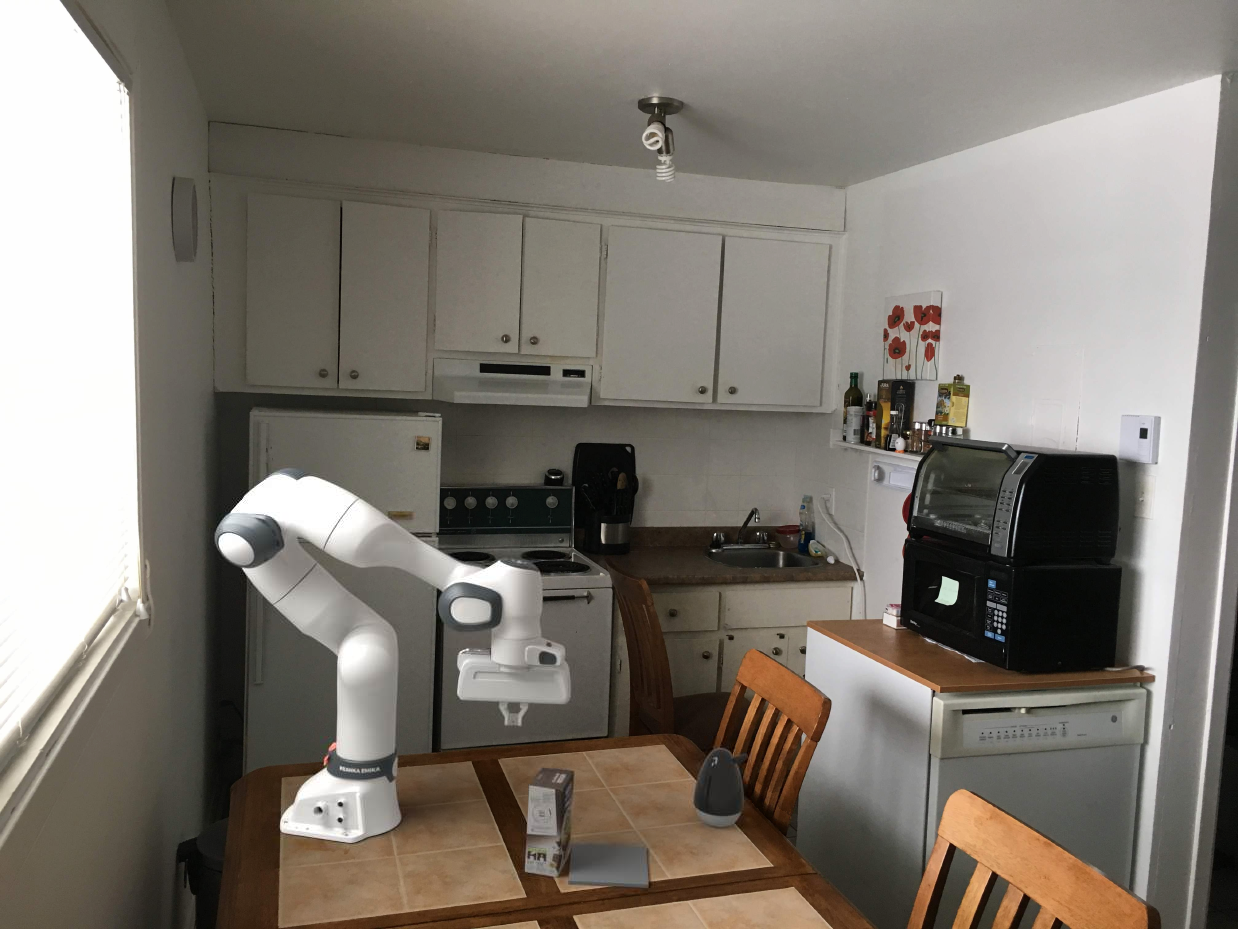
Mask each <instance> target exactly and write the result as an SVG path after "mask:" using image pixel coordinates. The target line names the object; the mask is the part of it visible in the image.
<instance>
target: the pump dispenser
mask: <svg viewBox="0 0 1238 929" xmlns="http://www.w3.org/2000/svg"><path fill="white" fill-rule="evenodd" d="M748 758H749V757H748V754H747V753H743V754H739V755H736V756H735V755H733V754H732V752H731V751H730V750H728V749H726V748H723V747H719V748H714V749H713V750H711V751H710V752H709V754H708V755H707V756H706V758H705V759H704V762H703V763H702V766H701V768H700V770H699V773H698V776H697V778H696V783H695V786H694V792H693V801H692V802H693V804H692V805H693V806H694V809H695V812H696V815H697V816H698V818H699V820H700V821H702V822H703V823H705V825H707V826H710V827H714V828H726V827H727V828H728V827H729V826H732V825H734V824H735V823H736V822H737V821H738V820H739V818H740V816H741V814H742V812H743V811H744V807H745V806H744V805H745V796H744V785H743V780H742V775H741V772H740V768H739V766H738V764H739V763H741V762H743V761H745V760H747V759H748Z"/></svg>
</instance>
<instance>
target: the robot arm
mask: <svg viewBox="0 0 1238 929" xmlns="http://www.w3.org/2000/svg"><path fill="white" fill-rule="evenodd" d="M298 538H302V539H305V540H306V541H308V542H310V543H312V544H313V545H314V546H315V547H317V548H319V549H320V550H322V551H324V552H325V553H327V554H328V555H330V556H331V557H333V558H335V559H337V560H338V561H341V562H343V563H346V564H348V565H351V566H354V567H357V568H361V569H362V568H373V567H390V568H391V567H392V568H397V569H400V570H404V571H406V572H408V573H410V574H411V575H413V576H415V577H417V578H418V579H421V580H422V581H423V582H426V583H428V584H429V585H431V586H433V587H435V588H436V589H438V590H440V591H441V592H442V593H441V594H440V596H439V599H438V604H437V609H438V614H439V617H440V619H441V621H442V622H443V623H444V625H446V627H448V628H449V629H451V630H453V631H455V632H458V633H475V632H483V631H487V630H491V642H490V643H491V645H490V646H491V647H489V648H488V647H477V648H476V647H466V648H465V649H463V650H461V651H460V652H459V653H458V655H457V659H456V660H457V663H456V664H457V669H458V670H459V676H458V681H457V682H458V683H457V688H456V689H457V691H456V692H457V694H456V695H457V696H458V698H459V699H460V700H461V701H477V702H498V705H499V706H498V708H499V710H500V711H501V713H502V715H503V717H504V726H506V727H507V726H509V727H513V726H514V727H522V723H523V716H524V715H525V713H526V712H527V710H528V708H529V705H530V704H545V705H548V704H549V705H567V704H568V702H569V701H570V700H571V694H572V686H571V685H572V682H571V674H570V666H569V665H568V662H567V661H566V660H565V659H566V648H565V646H564V645H563V644H561V643H558V642H555V641H552V640H549V639H546V638H544V637H542V628H541V624H540V623H541V622H540V621H541V620H540V619H541V616H542V612H543V580H542V575H541V571H540V570H539V568H538V567H537V566H536V565H535V564H534V563H532V562H530V561H528V560H525V559H522V558H516V557H503V558H500V559H499V560H497V561H496V562H495V563H493V564H492V565H490V566H487V565H483V564H479V563H472V562H466V561H462V560H459V559H457V558H455V557H453V556H451V555H450V554H448V553H446V552H444V551H442V550H440V549H439V548H438V547H435V546H433V545H432V544H430V543H429V542H426V541H425V540H423V539H421V538H420V537H417V536H415V535H414V534H412V533H410V532H409V531H408V530H406V529H405V528H404V527H402V526H400V524H398V523H397V522H395V521H394V520H392V519H390V518H389V517H388V516H387V515H385V514H384V513H383V512H381V511H380V510H379V509H377V508H375V506H373V505H372V504H370V503H368V502H367V501H365V500H364V499H362V498H360V497H358V496H357V495H355V494H354V493H352V492H350V491H349V490H346V489H345V488H342V487H340V486H338V485H337V484H335V483H332V482H330V481H327V480H325V479H322V478H319V477H317V476H312V475H311V476H310V475H308V474H307V473H306V472H303V471H301V470H300V469H297V468H293V467H292V468H291V467H287V468H282V469H279V470H276V471H275V472H272V473H271V474H269V475H267V476H266V478H265V479H264V480H263V481H262V482H260V483H259V484H257V485H256V486H254V488H252V489H251V490H249V492H247V493H246V494H245V495H244V496H243V498H242V500H240V501H239V503H237V504H236V506H235V507H234V508H233V509H232V510H231V511H230V513H228V514H226V515H225V516H224V517H223V519H222V520H221V521H220V523H219V524H218V526H217V528H216V531H215V533H214V543H215V546H216V548H217V550H218V552H219V553H220V554H221V556H222V557H223V558H224V560H226V561H227V562H229V563H230V564H232V565H234V566H236V567H238V568H241V569H242V570H243V572H244V573H245V575H246V576H247V578H248V579H249V580H250V582H251V583H252V584H253V586H254V587H255V588H256V589H257V590H258V591H259V592H260V594H262V596H263V597H264V598H265V599H266V600H267V601H268V602H269V603H270V604H272V605H273V607H274V608H275V609H277V610H278V612H280V613H281V614H282V615H283V616H284V617H285V618H287V620H288V621H289V622H291V624H293V625H294V626H295V627H296V629H298V630H299V631H301V633H302V634H303V635H307V636H309V637H311V638H312V639H314V640H316V641H317V642H319V643H321V644H322V645H323V646H325V647H326V648H328V649H329V650H330V651H332V652H333V653H334V655H336V657H337V660H336V661H337V662H336V663H337V666H336V668H337V670H336V671H337V673H336V676H337V677H336V680H337V683H336V688H337V689H336V690H337V691H336V694H337V695H336V698H337V699H336V704H337V705H336V708H337V710H336V711H337V712H336V713H337V715H336V741H335V742H333V743H332V744H331V746H329V748H328V752H327V753H326V754H325V757H324V761H323V766H324V768H323V769H321V770H320V771H319V772H317V773H316V774H314V775H313V776H311V777H310V778H309V779H307V780H306V781H305V782H304V783H303V784H302V785H301V786H300V788H299V790H298V791H297V794H296V796H295V799H294V802H293V803H292V804H291V805H290V806H289V807H288V808H287V809H286V810H285V812H284V813H283V814H282V815H281V816H282V817H281V819H280V824H279V828H280V831H281V832H282V834H287V835H295V836H302V837H307V838H314V839H321V840H322V839H323V840H327V841H336V842H341V843H347V844H348V843H349V844H353V843H357V842H359V841H362V840H364V839H366V838H370V837H372V836H377V835H380V834H384V833H386V832H389V831H391V830H392V829H394V828H396V827H397V826H398V825H399V824H400V822H401V821H402V813H401V810H400V807H399V800H398V795H397V787H396V786H397V785H396V778H397V774H398V759H399V758H398V749H397V746H396V728H397V727H396V726H397V702H398V701H397V700H398V680H399V677H398V676H399V648H398V635H397V633H396V631H395V629H394V628H393V626H392V625H391V624H390V623H389V622H388V621H387V620H386V619H384V618H383V617H382V616H381V615H379V614H378V613H377V612H376V611H375V610H373V608H371V607H369V606H368V605H367V604H366V603H364V602H363V601H362V600H360V599H359V598H358V597H356V596H355V595H354V594H352V593H351V592H350V591H348V589H346V588H345V587H344V586H343V585H342V584H341V583H340V582H339V581H338V580H336V579H335V577H333V575H332V574H330V573H329V572H328V571H327V570H326V569H325V568H324V567H323V566H322V565H321V564H320V563H319V562H318V561H317V560H316V559H314V558H313V557H312V555H310V554H309V553H308V552H307V551H305V549H304V548H303V547H302V546H301V545H300V543H299V541H298V540H299V539H298ZM509 703H519V708H520V711H519V712H518V713H511V712H510V711H509V709H508V705H509Z"/></svg>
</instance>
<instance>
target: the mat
mask: <svg viewBox="0 0 1238 929" xmlns="http://www.w3.org/2000/svg"><path fill="white" fill-rule="evenodd" d="M647 855H648V854H647V846H646V845H631V844H630V845H628V844H611V843H610V844H609V843H592V842H591V843H590V842H589V843H587V842H571V849H570V862H569V869H568V870H569V871H568V872H569V873H568V879H567V880H568V882H567V884H568V885H576V886H577V885H580V886H581V885H582V886H596V887H597V886H600V887H620V888H622V887H623V888H638V889H639V888H643V889H649V886H650V885H649V872H648V870H649V869H648V856H647Z"/></svg>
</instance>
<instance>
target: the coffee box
mask: <svg viewBox="0 0 1238 929" xmlns="http://www.w3.org/2000/svg"><path fill="white" fill-rule="evenodd" d="M574 778H575V770H570V769H561V768H550V767H541V769H539V771H538V773H537V774H536V775H535V777H534V778H533V780H532V781H531V782H530V784H529V786H528V800H527V801H528V806H527V822H526V823H527V825H526V843H525V844H526V845H525V848H526V849H525V863H524V872H525V873H530V874H534V875H540V876H541V875H542V876H548V877H554V878H558V877H559V875H560V873H561V872H562V869H563V868H564V866H565V864H566V862H567V860H568V859H569V857H570V856H571V849H572V824H573V823H572V822H573V821H572V820H573V802H574V801H573V798H574V782H575V779H574Z"/></svg>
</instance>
